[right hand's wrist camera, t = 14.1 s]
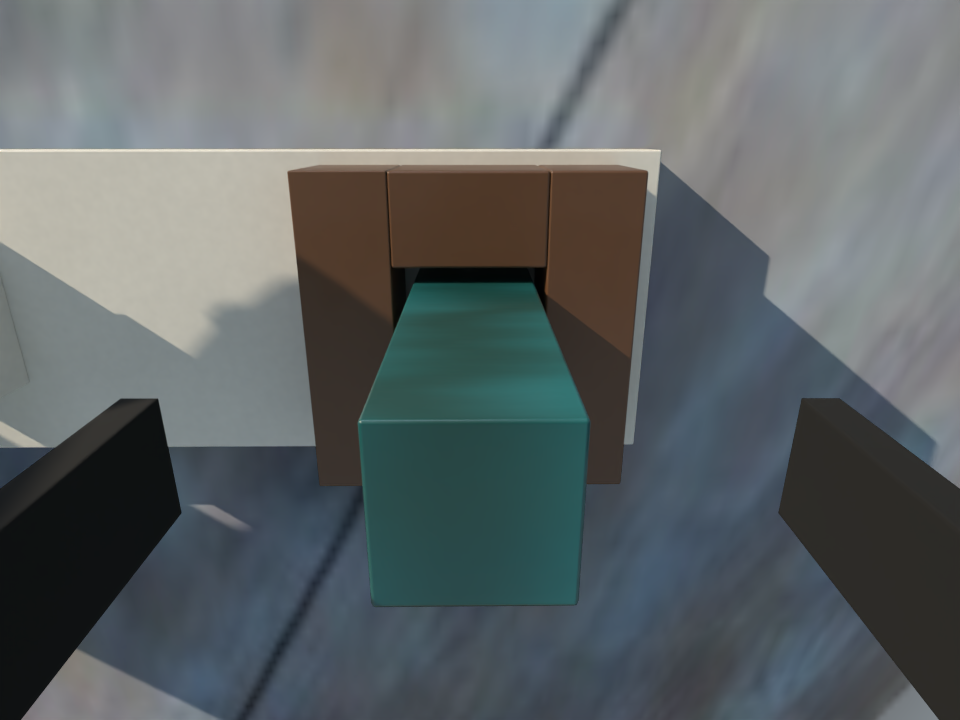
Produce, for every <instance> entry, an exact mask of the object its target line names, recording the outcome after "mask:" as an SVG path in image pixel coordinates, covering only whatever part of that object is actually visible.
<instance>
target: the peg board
mask: <svg viewBox="0 0 960 720" xmlns="http://www.w3.org/2000/svg"><path fill="white" fill-rule="evenodd" d="M660 162H661V150H651V149H0V448H45V447H57V446H58V445H59V444H61V443H62V442H63V441H65V440H66V439H67V438H69V437H70V436H71V435H73V434H74V433H75V432H77V431H78V430H79V429H81V428H82V427H83V426H85V425H86V424H87V423H89V422H90V421H91V420H93V419H94V418H95V417H97V416H98V415H99V414H101V413H102V412H103V411H105V410H106V409H107V408H109V407H110V406H111V405H113V404H114V403H115V402H117V401H118V400H119V399H121V398H158V400H159V405H160V410H161V415H162V420H163V424H164V429H165V434H166V439H167V444H168V447H236V446H316V455H317V464H318V474H319V484H320V486H362V474H361V460H360V447H359V434H358V421H359V418H360V416H361V413H362V411H363V408H364V406H365V403H366V401H367V398H368V396H369V393H370V391H371V388H372V386H373V383H374V381H375V378H376V376H377V373H378V371H379V368H380V366H381V363H382V361H383V358H384V356H385V353H386V351H387V348H388V346H389V343H390V341H391V338H392V336H393V333H394V331H395V328H396V326H397V323H398V321H399V318H400V316H401V314H402V311H403V309H404V306H405V304H406V301H407V299H408V296H409V294H410V291H411V289H412V286H413V284H414V281H415V279H416V276H417V274H418V271H419V269H420V268H528V271H529V273H530V276H531V278H532V281H533V283H534V285H535V288H536V290H537V293H538V295H539V298H540V300H541V302H542V305H543V307H544V310H545V312H546V315H547V317H548V319H549V322H550V324H551V327H552V329H553V331H554V334H555V336H556V339H557V341H558V344H559V346H560V348H561V351H562V353H563V356H564V358H565V361H566V363H567V365H568V368H569V370H570V373H571V375H572V378H573V380H574V382H575V385H576V387H577V390H578V392H579V395H580V397H581V399H582V402H583V404H584V407H585V409H586V412H587V414H588V416H589V419H590V421H591V424H590V439H589V454H588V468H587V483H586V484H620V481H621V470H622V459H623V448H624V444H633V442H634V431H635V421H636V411H637V400H638V390H639V380H640V369H641V359H642V349H643V338H644V328H645V317H646V307H647V297H648V286H649V276H650V266H651V255H652V245H653V235H654V224H655V214H656V204H657V193H658V183H659V172H660Z"/></svg>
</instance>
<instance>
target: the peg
mask: <svg viewBox="0 0 960 720" xmlns="http://www.w3.org/2000/svg"><path fill="white" fill-rule="evenodd" d="M590 424H591V421H590V419H589V416H588V414H587V412H586V409H585V407H584V404H583V402H582V399H581V397H580V395H579V392H578V390H577V387H576V385H575V382H574V380H573V378H572V375H571V373H570V370H569V368H568V365H567V363H566V361H565V358H564V356H563V353H562V351H561V348H560V346H559V344H558V341H557V339H556V336H555V334H554V331H553V329H552V327H551V324H550V322H549V319H548V317H547V315H546V312H545V310H544V307H543V305H542V302H541V300H540V298H539V295H538V293H537V290H536V288H535V285H534V283H533V281H532V278H531V276H530V273H529V271H528V268H420V269H419V271H418V274H417V276H416V279H415V281H414V284H413V286H412V289H411V291H410V294H409V296H408V299H407V301H406V304H405V306H404V309H403V311H402V314H401V316H400V318H399V321H398V323H397V326H396V328H395V331H394V333H393V336H392V338H391V341H390V343H389V346H388V348H387V351H386V353H385V356H384V358H383V361H382V363H381V366H380V368H379V371H378V373H377V376H376V378H375V381H374V383H373V386H372V388H371V391H370V393H369V396H368V398H367V401H366V403H365V406H364V408H363V411H362V413H361V416H360V418H359V421H358V434H359V447H360V460H361V474H362V487H363V500H364V513H365V526H366V539H367V552H368V566H369V579H370V592H371V603H372V605H373V606H374V607H435V606H561V605H577V603H578V599H579V585H580V570H581V555H582V541H583V526H584V512H585V497H586V483H587V468H588V454H589V439H590Z"/></svg>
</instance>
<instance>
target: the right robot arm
mask: <svg viewBox="0 0 960 720" xmlns="http://www.w3.org/2000/svg"><path fill="white" fill-rule="evenodd" d="M180 514H181V508H180V503H179V498H178V493H177V488H176V483H175V479H174V474H173V469H172V464H171V459H170V454H169V449H168V444H167V439H166V434H165V429H164V424H163V420H162V415H161V410H160V405H159V400H158V398H121V399H119V400H118V401H117V402H115V403H114V404H113V405H111V406H110V407H109V408H107V409H106V410H105V411H103V412H102V413H101V414H99V415H98V416H97V417H95V418H94V419H93V420H91V421H90V422H89V423H87V424H86V425H85V426H83V427H82V428H81V429H79V430H78V431H77V432H75V433H74V434H73V435H71V436H70V437H69V438H67V439H66V440H65V441H63V442H62V443H61V444H59V445H58V446H57V447H55V448H54V449H53V450H51V451H50V452H49V453H47V454H46V455H45V456H43V457H42V458H41V459H39V460H38V461H37V462H35V463H34V464H33V465H31V466H30V467H29V468H27V469H26V470H25V471H23V472H22V473H21V474H19V475H18V476H17V477H15V478H14V479H13V480H11V481H10V482H9V483H7V484H6V485H5V486H3V487H2V488H1V489H0V720H21V719H22V718H23V716H24V715H25V714H26V713H27V711H28V710H29V709H30V707H31V706H32V705H33V704H34V702H35V701H36V700H37V698H38V697H39V696H40V695H41V693H42V692H43V691H44V689H45V688H46V687H47V685H48V684H49V683H50V682H51V680H52V679H53V678H54V676H55V675H56V674H57V673H58V671H59V670H60V669H61V667H62V666H63V665H64V664H65V662H66V661H67V660H68V658H69V657H70V656H71V655H72V653H73V652H74V651H75V649H76V648H77V647H78V646H79V644H80V643H81V642H82V640H83V639H84V638H85V637H86V635H87V634H88V633H89V631H90V630H91V629H92V628H93V626H94V625H95V624H96V622H97V621H98V620H99V619H100V617H101V616H102V615H103V613H104V612H105V611H106V610H107V608H108V607H109V606H110V604H111V603H112V602H113V601H114V599H115V598H116V597H117V595H118V594H119V593H120V591H121V590H122V589H123V588H124V586H125V585H126V584H127V582H128V581H129V580H130V579H131V577H132V576H133V575H134V573H135V572H136V571H137V570H138V568H139V567H140V566H141V564H142V563H143V562H144V561H145V559H146V558H147V557H148V555H149V554H150V553H151V552H152V550H153V549H154V548H155V546H156V545H157V544H158V543H159V541H160V540H161V539H162V537H163V536H164V535H165V534H166V532H167V531H168V530H169V528H170V527H171V526H172V525H173V523H174V522H175V521H176V519H177V518H178V517H179V516H180ZM779 514H780V516H781V517H782V518H783V519H784V521H785V522H786V523H787V525H788V526H789V527H790V528H791V530H792V531H793V532H794V534H795V535H796V536H797V537H798V539H799V540H800V541H801V543H802V544H803V545H804V546H805V548H806V549H807V550H808V552H809V553H810V554H811V555H812V557H813V558H814V559H815V561H816V562H817V563H818V564H819V566H820V567H821V568H822V570H823V571H824V572H825V573H826V575H827V576H828V577H829V579H830V580H831V581H832V582H833V584H834V585H835V586H836V588H837V589H838V590H839V591H840V593H841V594H842V595H843V597H844V598H845V599H846V601H847V602H848V603H849V604H850V606H851V607H852V608H853V610H854V611H855V612H856V613H857V615H858V616H859V617H860V619H861V620H862V621H863V622H864V624H865V625H866V626H867V628H868V629H869V630H870V631H871V633H872V634H873V635H874V637H875V638H876V639H877V640H878V642H879V643H880V644H881V646H882V647H883V648H884V649H885V651H886V652H887V653H888V655H889V656H890V657H891V658H892V660H893V661H894V662H895V664H896V665H897V666H898V667H899V669H900V670H901V671H902V673H903V674H904V675H905V676H906V678H907V679H908V680H909V682H910V683H911V684H912V685H913V687H914V688H915V689H916V691H917V692H918V693H919V694H920V696H921V697H922V698H923V700H924V701H925V702H926V703H927V705H928V706H929V707H930V709H931V710H932V711H933V712H934V714H935V715H936V716H937V718H938V719H939V720H960V489H959V488H958V487H957V486H955V485H954V484H953V483H951V482H950V481H949V480H947V479H946V478H945V477H943V476H942V475H941V474H939V473H938V472H937V471H935V470H934V469H933V468H931V467H930V466H929V465H927V464H926V463H925V462H923V461H922V460H921V459H919V458H918V457H917V456H915V455H914V454H913V453H911V452H910V451H909V450H907V449H906V448H905V447H903V446H902V445H901V444H899V443H898V442H897V441H895V440H894V439H893V438H891V437H890V436H889V435H887V434H886V433H885V432H883V431H882V430H881V429H879V428H878V427H877V426H875V425H874V424H873V423H871V422H870V421H869V420H867V419H866V418H865V417H863V416H862V415H861V414H859V413H858V412H857V411H855V410H854V409H853V408H851V407H850V406H849V405H847V404H846V403H845V402H843V401H842V400H841V399H839V398H802V400H801V405H800V410H799V415H798V420H797V424H796V429H795V434H794V439H793V444H792V449H791V454H790V459H789V464H788V469H787V474H786V479H785V483H784V488H783V493H782V498H781V503H780V508H779Z"/></svg>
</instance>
